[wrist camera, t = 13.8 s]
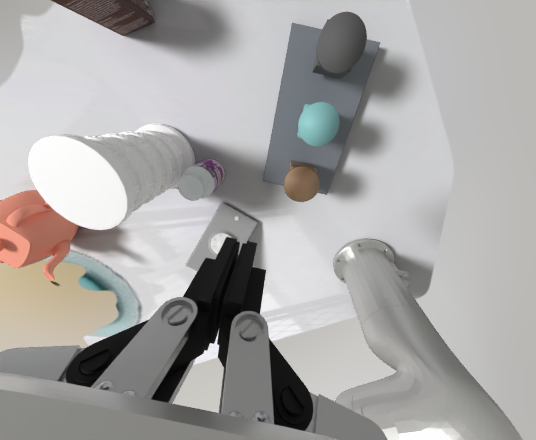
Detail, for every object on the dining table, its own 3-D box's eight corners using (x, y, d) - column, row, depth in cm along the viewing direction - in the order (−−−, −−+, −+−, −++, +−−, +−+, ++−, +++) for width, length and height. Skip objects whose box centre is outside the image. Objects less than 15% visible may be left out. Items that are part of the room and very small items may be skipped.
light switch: (258, 222, 41) (223, 286, 41) (255, 221, 47) (224, 276, 47) (221, 201, 40) (183, 266, 39) (222, 202, 46) (190, 259, 45)
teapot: (102, 246, 50) (50, 284, 39) (39, 240, 51) (-31, 275, 40) (80, 188, 43) (8, 215, 32) (7, 182, 44) (-88, 205, 33)
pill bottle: (230, 180, 40) (214, 198, 31) (207, 189, 41) (186, 209, 32) (216, 153, 37) (195, 165, 29) (192, 164, 39) (165, 179, 30)
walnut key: (318, 162, 33) (324, 172, 28) (309, 191, 36) (313, 204, 30) (288, 156, 33) (288, 164, 28) (281, 185, 36) (280, 197, 30)
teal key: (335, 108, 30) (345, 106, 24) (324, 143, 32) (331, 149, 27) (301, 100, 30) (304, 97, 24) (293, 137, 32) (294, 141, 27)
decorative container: (207, 166, 39) (151, 203, 23) (167, 197, 42) (94, 247, 27) (163, 108, 35) (57, 105, 19) (122, 148, 38) (6, 172, 23)
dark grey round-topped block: (357, 37, 26) (374, 17, 21) (342, 83, 28) (355, 76, 23) (318, 28, 26) (326, 6, 21) (307, 75, 28) (311, 67, 23)
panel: (375, 46, 29) (397, 29, 23) (325, 191, 39) (331, 205, 33) (292, 27, 28) (292, 6, 23) (263, 178, 39) (259, 189, 33)
